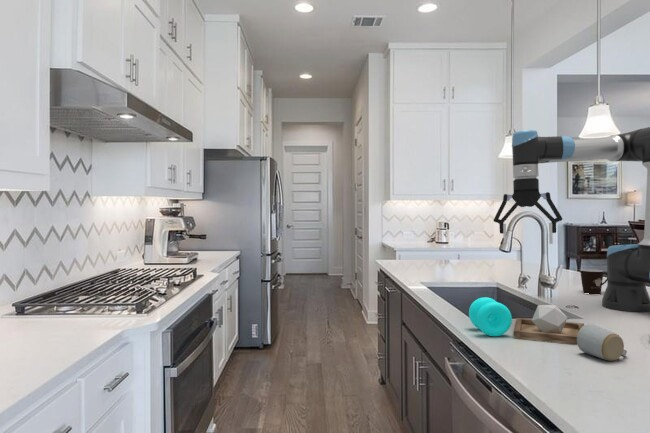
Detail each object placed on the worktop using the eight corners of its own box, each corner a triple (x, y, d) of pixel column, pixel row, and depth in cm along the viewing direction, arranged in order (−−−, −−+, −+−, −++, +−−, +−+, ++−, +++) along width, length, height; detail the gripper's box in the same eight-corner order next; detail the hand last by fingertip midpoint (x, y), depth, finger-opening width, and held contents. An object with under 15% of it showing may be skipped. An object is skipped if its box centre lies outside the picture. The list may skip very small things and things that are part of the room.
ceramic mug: (603, 363, 102) (604, 332, 102) (575, 353, 110) (576, 324, 110) (636, 359, 105) (636, 329, 105) (606, 350, 113) (607, 321, 113)
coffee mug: (583, 295, 184) (583, 271, 183) (577, 291, 192) (577, 268, 192) (615, 296, 180) (614, 272, 180) (608, 292, 188) (607, 269, 188)
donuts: (478, 337, 125) (478, 303, 125) (467, 328, 135) (467, 296, 135) (513, 337, 125) (513, 302, 125) (500, 328, 135) (499, 296, 135)
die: (565, 340, 121) (576, 310, 124) (535, 324, 123) (548, 294, 126) (550, 342, 129) (561, 314, 132) (523, 327, 130) (535, 299, 133)
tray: (583, 330, 130) (583, 323, 130) (589, 346, 116) (589, 338, 116) (516, 324, 139) (516, 317, 139) (513, 338, 124) (513, 330, 124)
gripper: (484, 180, 143) (486, 244, 143) (570, 175, 133) (572, 244, 133) (485, 181, 150) (487, 242, 150) (568, 176, 140) (570, 242, 140)
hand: (527, 243), depth 142 cm, fingers open, 13 cm apart
